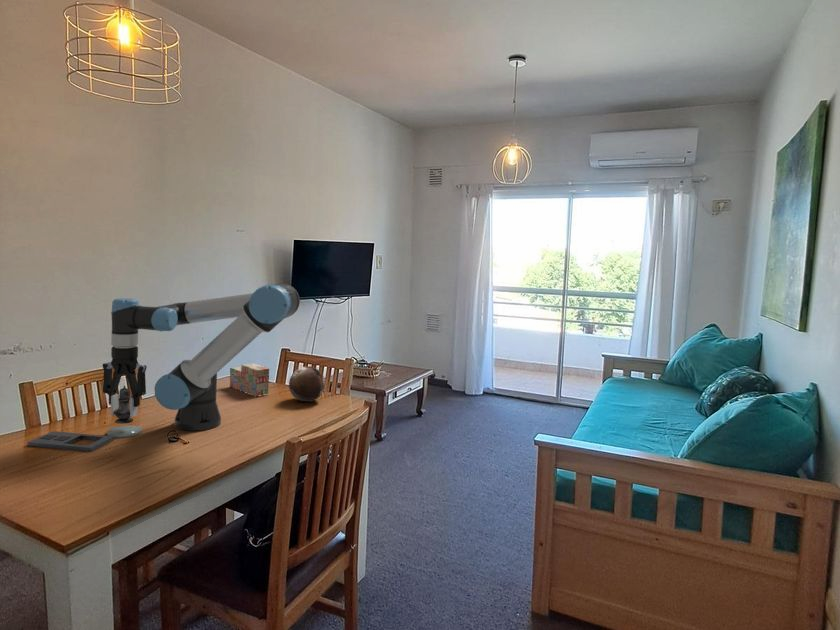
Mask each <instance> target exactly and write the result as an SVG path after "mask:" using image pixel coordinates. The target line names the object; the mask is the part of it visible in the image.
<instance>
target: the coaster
mask: <svg viewBox="0 0 840 630" xmlns="http://www.w3.org/2000/svg"><path fill="white" fill-rule="evenodd" d="M142 432H143V431H142V427H141V426H138V425H133V424H132V425H120V426H119V425H118V426H115V427H112V428H109V429H108V430H107V431H106V436H112V437H113V439H124V438H132V437H135V436H137V435H140V434H141V433H142Z"/></svg>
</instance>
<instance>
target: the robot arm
mask: <svg viewBox="0 0 840 630" xmlns="http://www.w3.org/2000/svg"><path fill="white" fill-rule="evenodd" d="M300 301H301V299H300V295H299V293H298V291H297V289H295V287H293V286H292V285H290V284H287V283H275V284H272V283H271V284H266V285H262V286H260V287H258V288H257V289H256V290H255V291H254V292H251V293H244V294H237V295H231V296H223V297H216V298H215V297H214V298H208V299H201V300H192V301H187V302H176V303H175V302H174V303H171V304H167V305H161V306H145V305H144V306H143V305H140V304H139V303H140V302H139V300H138V299H136V298H131V297H130V298H128V297H124V298H121V297H120V298H115V299H113V300H112V304H111V312H110V314H111V341H110V344H111V346H112V347H111V352H110V354H111V361H108V362H105V363H102V368H103V380H102V393H103V394H107V395H108V405H110V416H116V415H115V413H114V411H115V410H116V409H118V408H119V401H118V399H119V394H118V387H119V385H120V382H121V379H122V376H123V375H124V376H125V378H126V379H127V382H128V384H129V389H130V392H131V394H132V396H131V397H129V398H130V418H134V417H136V416H138V408H139V407H140V403H141V402H140V400H141V397H142V396H144V395H146V394H147V390H146V389H147V384H146V371H147V365H146V364H145V365H142V364H140V363H139V362H138V361H139V360H138V357H139V347H138V344H139V330H145V331H146V330H148V331H158V332H171V331H173V330H174V329H175V328H176V327H177V326H182V325H189V324H195V323H196V324H197V323H203V322H204V323H205V322H212V321H219V320H226V319H228V320H229V319H234V320H233V321H232V322H231V323H230V324H229V325H227V326H226V327H225V329H223V330H222V331H221V332H220V333H219V334H218V335H217V336H216V337H214V338H213V339H212V340H211V341H210V342H209V343H208V344H207V345H205V347H204V348H202V349H201V350H200V351H199V352H198V353H197V354H196V355H195V356H194V357H192V359H183V360H182V361H181V362H180V363H179V364H178V365H177V366H176V367H174V368H173V369H172V370H171V371H170V372H169V373H167V374H164V375H162V376H161V377H160V378H159V379H158V380H156V383H155V385H154V397H155V399H156V401H157V402H158V404H160V405H161V406H162V407H164V408H166V410H167V409H168V410H172V411H177V412H176V415H175V418H174V428H176V429H178V430H183V431H191V432H193V431H196V432H197V431H205V430H210V429H214V428H216V427H218V426H220V425H221V423H222V416H221V413H220V410H219V406H218V404H217V383H218V381H217V380H218V373H219V372H220V371H221V370H222V369H223V368H224V367H225V366H226V365H228V364H229V362H230V361H232V360H233V359H234V358H235V357H236V356H238V354H240V353H241V352H242V351H243V350H244V349H245V348H246V347H247V346H248V345H250V344H251V343H252V342H253V341H254V340H255V339H256V338H257V337H259V335H261V333H269V332H271V331H272V330H274V328H276V327H277V326H278V325H279V324H280V323H281V322H282V321H284V319H287V318H289V317H291V316H293V315H294V314H295V313H296V312H297V311H298V310H299V307H300V303H301V302H300ZM113 369H114V370H113Z"/></svg>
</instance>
